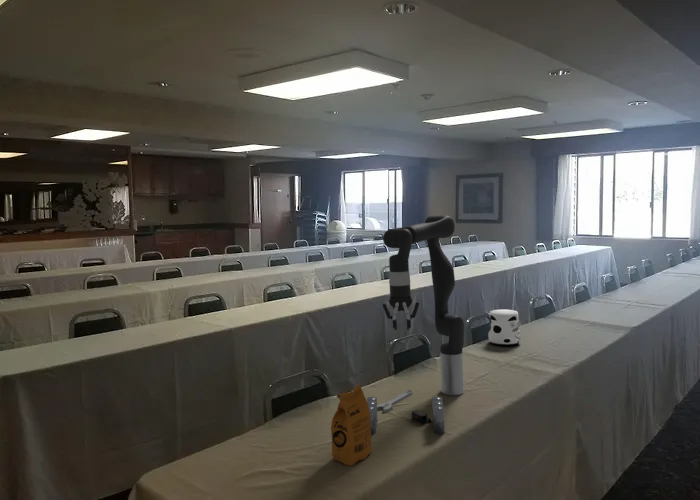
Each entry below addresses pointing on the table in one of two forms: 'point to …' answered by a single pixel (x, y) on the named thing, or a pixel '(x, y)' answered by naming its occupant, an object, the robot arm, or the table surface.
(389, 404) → the adjustable wrench
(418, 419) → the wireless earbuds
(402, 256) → the robot arm
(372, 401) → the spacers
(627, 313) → the table surface
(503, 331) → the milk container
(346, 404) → the coffee package
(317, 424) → the table surface
